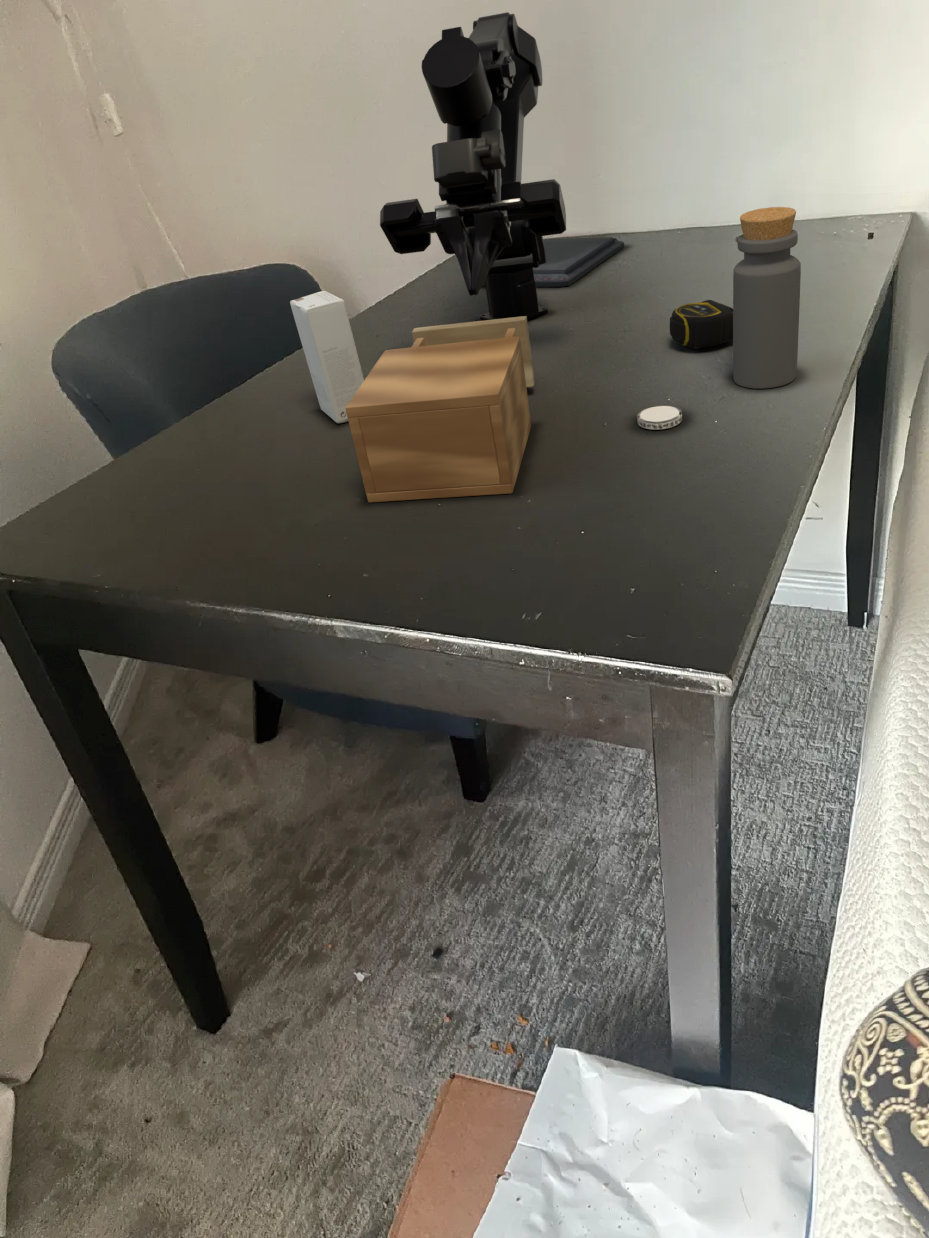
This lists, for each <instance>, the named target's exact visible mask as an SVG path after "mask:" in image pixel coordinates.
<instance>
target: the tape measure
mask: <svg viewBox="0 0 929 1238" xmlns="http://www.w3.org/2000/svg"><path fill="white" fill-rule="evenodd" d="M669 335H670V337H671V339H672V341H673V342H674V343H676V344H678V345H681V346H684V347H686V348H687V347H688V348H692V349H695V350H699V349H700V348H709V347H716V346H719V345H720V344H721V345H722V344H723V343H726V342H728V341H731V340H733V307H730V306H728V305H726V304H723V303H720V302H717V301H715V300H712V299H705V300H703V301H700V302H690V303H685V304H683V305H679V306H678V307H676V308H675V309H674V310H672V313H671V316H670V318H669Z"/></svg>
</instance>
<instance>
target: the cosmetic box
mask: <svg viewBox="0 0 929 1238" xmlns="http://www.w3.org/2000/svg"><path fill="white" fill-rule="evenodd" d="M289 304H290V307H291V312H292V315H293V319H294V322H295V326H296V329H297V331H298V332H297V333H298V335H299V339H300V343H301V345H302V350H303V353H304V356H305V360H306V364H307V367H308V370H309V374H310V377H311V380H312V384H313V387H314V390H315V393H316V394H315V395H316V397H317V401H318V404H319V405H318V406H319V408H320V411H322V412H323V413H325V415H327V416H328V417H329V418H331V419H332V420H333V421H334V422H335V423H336V424H343V423H347V422H348V417H347V413H346V409H345V407H346V406H347V404H348V403H349V402H350V400H351V399H352V397H353V396H354V394H355V393H356V392H357V390H358V389H359V387H360V386H361V384H362V383H363V382H364V380H365V378H364V374H363V370H362V366H361V362H360V358H359V354H358V350H357V346H356V341H355V339H354V336H353V335H354V334H353V330H352V327H351V323H350V319H349V316H348V312H347V307H346V302H345V300H344V299H342V298H341V297H338V296H336V295H334V294H332V293H330V292H329V291H327V290H321V291H318V292H314V293H311V294H308V295H305V296H301V297H298V298H295V299H292V300H290V301H289ZM348 423H349V422H348Z"/></svg>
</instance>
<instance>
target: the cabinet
mask: <svg viewBox="0 0 929 1238" xmlns="http://www.w3.org/2000/svg"><path fill="white" fill-rule="evenodd" d="M527 388H528V387H526V380H525V372H524V364H523V357H522V349H521V340H520V336H517V337H507V338H498V339H488V340H478V341H469V342H459V343H449V344H439V345H430V346H420V347H412V346H410V347H402V348H393V349H385V350H384V351H383V353H382V354H381V355H380V357H379V358H378V360H377V361H376V363H375V364H374V365H373V367H372V369H371V370H370V372H368V375H366V377H365V378H364V382H363V383H362V384H361V386H360V387H359V389H358V390H357V392H356V393H355V394H354V396H353V397H352V399H351V400H350V402H349V403H348V404H347V406H346V407H345V409H346V413H347V417H348V425H349V430H350V434H351V437H352V442H353V447H354V450H355V455H356V458H357V459H356V460H357V463H358V466H359V470H360V474H361V475H360V476H361V479H362V483H363V487H364V493H365V495H366V499H367V503H369V504H370V503H383V502H384V503H385V502H399V501H400V502H401V501H402V502H403V501H415V500H429V499H430V500H431V499H433V500H434V499H446V498H462V497H478V496H492V495H493V496H495V495H510V494H513V493H514V489H515V486H516V482H517V479H518V475H519V471H520V468H521V464H522V461H523V457H524V453H525V451H526V446H527V443H528V439H529V436H530V433H531V429H532V420H531V411H530V404H529V397H528V389H527Z"/></svg>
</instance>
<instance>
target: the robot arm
mask: <svg viewBox="0 0 929 1238" xmlns="http://www.w3.org/2000/svg"><path fill="white" fill-rule="evenodd" d="M542 68H543V67H542V61H541V56H540V52H539V47H538V43H537V40H536V38H535V37H534V36H533V35H532V34H530V33H529V32H527V31H526V30H524V29H523V28H521V26H519V24H518V22H517V18H516V15H515V13H510V12H502V13H497V14H491V15H485V16H481V17H478V19H476V20H473V22H472V31H471V33H470V34H469V36H468V37H467V36H464V32H463V28H462V26H456V27H451V28H446V29H445V28H444V29H442V30H441V39H439V40H438V41H436V42H435V43H434V44H432V46H431V47H430V48H429V49H428V50H427V51H426V53H425V55H424V57H423V59H422V60H421V73H422V75H423V78H424V81H425V83H426V86H427V89H428V91H429V94H430V96H431V99H432V101H433V105H434V107H435V109H436V112H437V114H438V115H437V116H438V117H439V119H440V121H441V122H442V124H445V125H446V141H444V142H438V143H435V144H433V145H431V156H432V171H433V181H434V182H435V183H438V196H439V199H440V200H441V202H445V204H438V205H435V206H434V211H428V212H425V211H424V209H423V207H422V205H421V203H420V201H419V199H418V198H411V199H405V200H404V199H403V200H396V201H391V202H386V203H385V204H384V205H383V206H382V208H381V209H380V212H379V226H380V228H381V231H382V232H383V234H384V236H385V237H386V240H387V241H388V242H389V244H390V247H391V248H392V250H393V252H394V253H397V254H400V255H406V254H415V253H421V252H425V251H426V250H427V249H428V248H429V246H430V245H432V234H436V236H437V238H438V240H439V242H440V245H441V247H442V249H443V251H444V252H445V254H447V255H455V257H456V259H457V262H458V265H459V269H460V271H461V274H462V277H463V280H464V283H465V286H466V289H467V292H468V294H469V296H470V297H471V296H478V295H479V293H480V291H481V290H482V287H483V286H482V285H483V283H484V281H485V286H484V288H485V293H486V300H487V307H488V312H485V313H483V314H480V315H479V321H485V320H494V319H503V318H512V317H522V316H527V321H528V320H531V319H535V318H536V317H539V316H542V315H545V314H547V313H548V312H549V311H548V310H549V309H548V307H545V306H540V305H539V301H538V300H539V299H538V291H537V287H536V282H535V280H534V273H533V267H534V268H539V265H541V264H544V263H546V254H545V246H544V241H543V240H544V237H546V236H555V235H562V234H564V233H565V232H566V231H567V212H566V211H567V210H566V205H565V200H564V196H563V191H562V187H561V186H562V185H561V184H560V183H559V182H558V181H557V180H556V179H555V178H551V179H546V180H538V181H532V182H531V181H530V182H525V183H524V182H523V183H522V173H523V152H524V151H523V149H524V129H525V128H524V125H525V118H526V117H527V116H528V115H529V113H530V112H531V111H532V110H534V108H535V107H536V106H537V105H538V98H539V97H538V96H539V87H542V86H543V69H542ZM531 253H532V254H531Z"/></svg>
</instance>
